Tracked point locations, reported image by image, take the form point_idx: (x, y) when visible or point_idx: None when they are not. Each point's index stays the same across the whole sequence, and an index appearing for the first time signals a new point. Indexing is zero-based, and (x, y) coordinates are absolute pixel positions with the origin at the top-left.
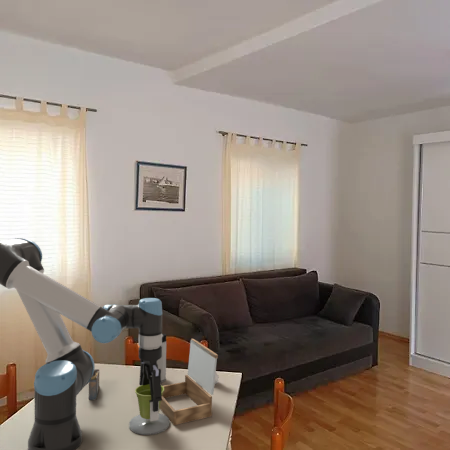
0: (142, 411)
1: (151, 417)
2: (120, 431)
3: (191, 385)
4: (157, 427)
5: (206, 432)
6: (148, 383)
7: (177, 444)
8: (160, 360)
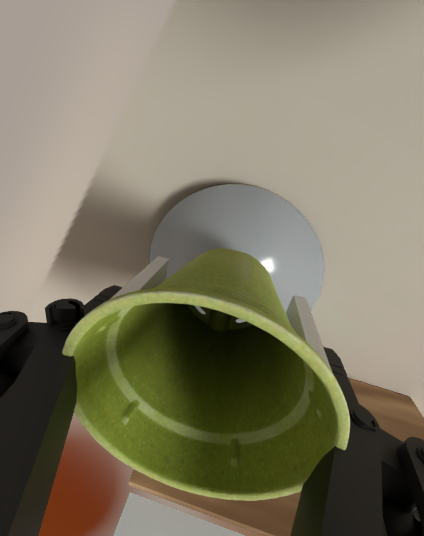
0: (202, 258)
1: (148, 266)
2: (270, 132)
3: (292, 515)
4: (169, 271)
5: None
6: (306, 489)
7: (61, 260)
8: None
